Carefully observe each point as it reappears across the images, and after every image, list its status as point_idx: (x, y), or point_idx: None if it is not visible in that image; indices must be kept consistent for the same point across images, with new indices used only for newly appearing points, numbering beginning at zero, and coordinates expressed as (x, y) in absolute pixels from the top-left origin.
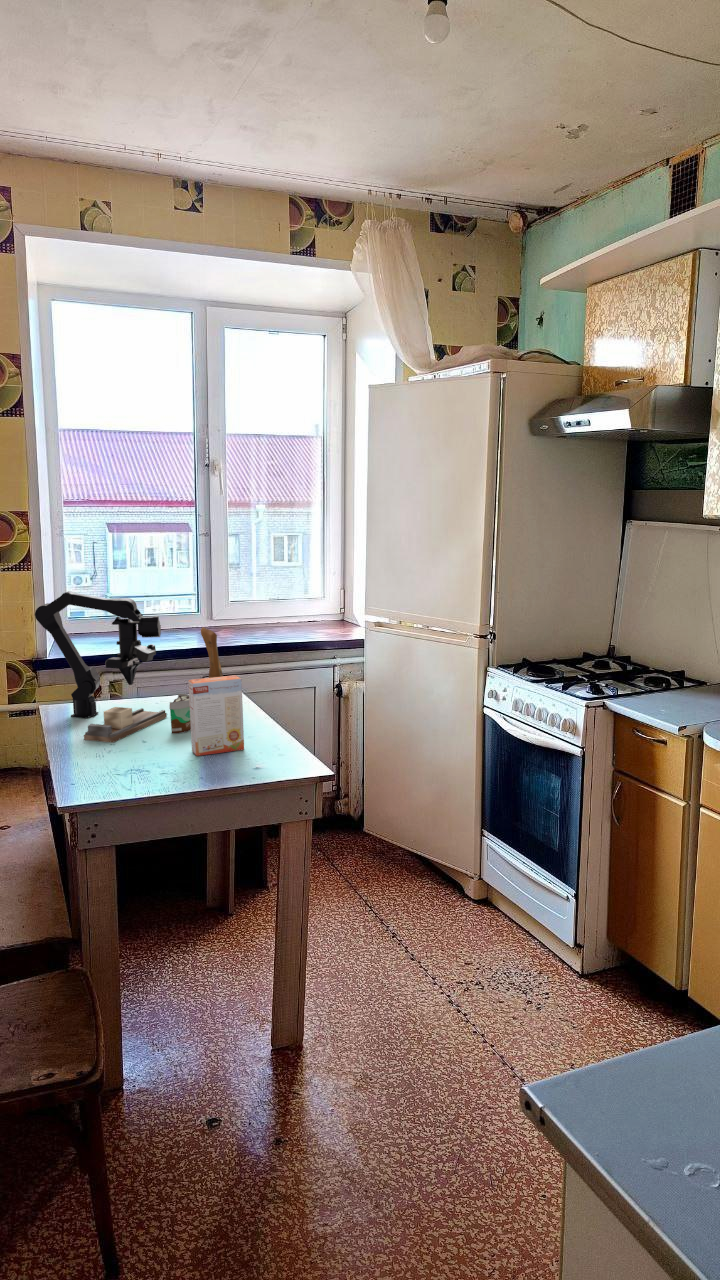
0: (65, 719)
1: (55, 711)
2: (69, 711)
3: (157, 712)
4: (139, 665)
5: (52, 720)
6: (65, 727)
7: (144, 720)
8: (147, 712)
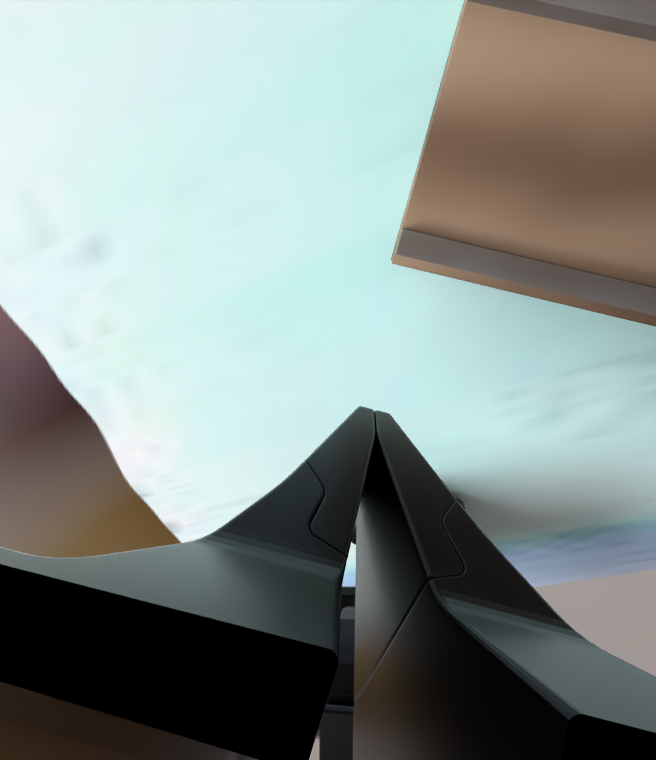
0: None
1: None
2: None
3: (574, 4)
4: (162, 564)
5: None
6: (621, 541)
7: None
8: (455, 173)
